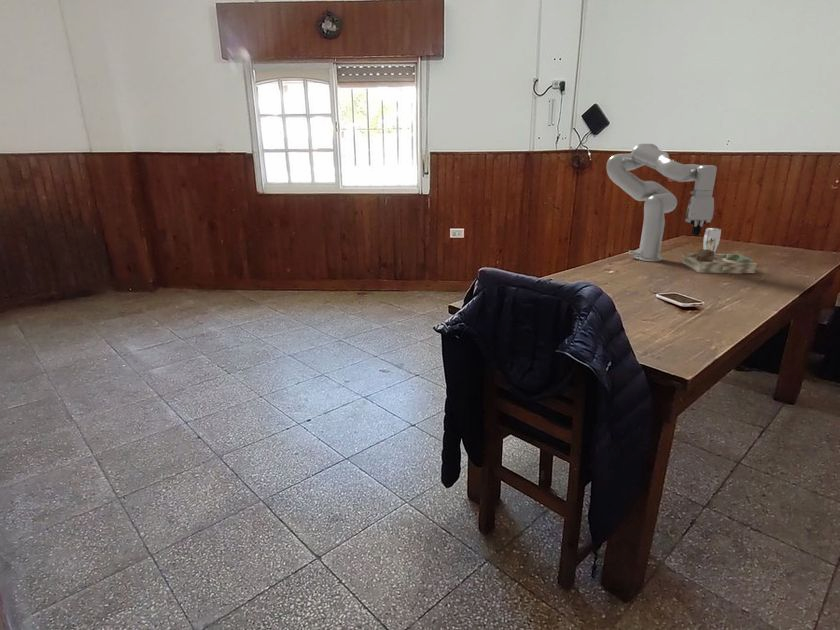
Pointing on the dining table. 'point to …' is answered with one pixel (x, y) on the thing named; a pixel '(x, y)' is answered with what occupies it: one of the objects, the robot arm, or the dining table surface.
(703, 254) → the walnut block
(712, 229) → the beer glass
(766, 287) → the dining table surface
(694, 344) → the dining table surface
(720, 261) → the tray
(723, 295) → the dining table surface
